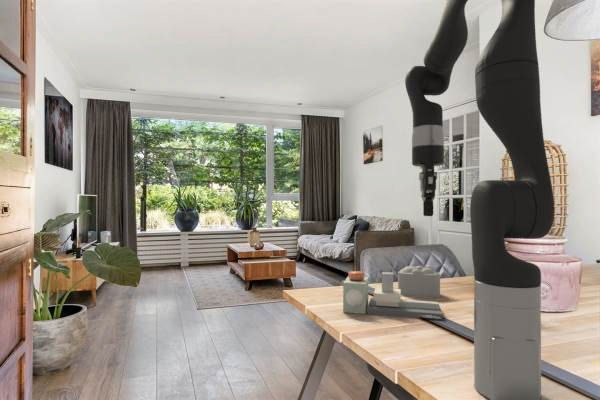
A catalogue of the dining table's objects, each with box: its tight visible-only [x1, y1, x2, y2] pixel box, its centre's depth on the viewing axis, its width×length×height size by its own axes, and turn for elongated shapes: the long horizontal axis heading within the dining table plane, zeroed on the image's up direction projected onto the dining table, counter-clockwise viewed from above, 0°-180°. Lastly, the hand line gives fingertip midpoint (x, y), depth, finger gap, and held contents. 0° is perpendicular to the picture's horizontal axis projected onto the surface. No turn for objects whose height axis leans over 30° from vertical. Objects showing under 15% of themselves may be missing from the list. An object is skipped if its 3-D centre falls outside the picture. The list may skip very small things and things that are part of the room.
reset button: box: [348, 270, 365, 281], centre depth 107 cm, size 4×4×7 cm
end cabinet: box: [342, 275, 370, 315], centre depth 107 cm, size 10×6×8 cm, turn 165°
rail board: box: [366, 297, 444, 319], centre depth 104 cm, size 10×19×3 cm, turn 75°
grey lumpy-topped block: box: [397, 265, 441, 299], centre depth 125 cm, size 10×13×9 cm
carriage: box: [373, 271, 402, 307], centre depth 105 cm, size 7×7×8 cm
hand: (428, 215), depth 93 cm, fingers closed
